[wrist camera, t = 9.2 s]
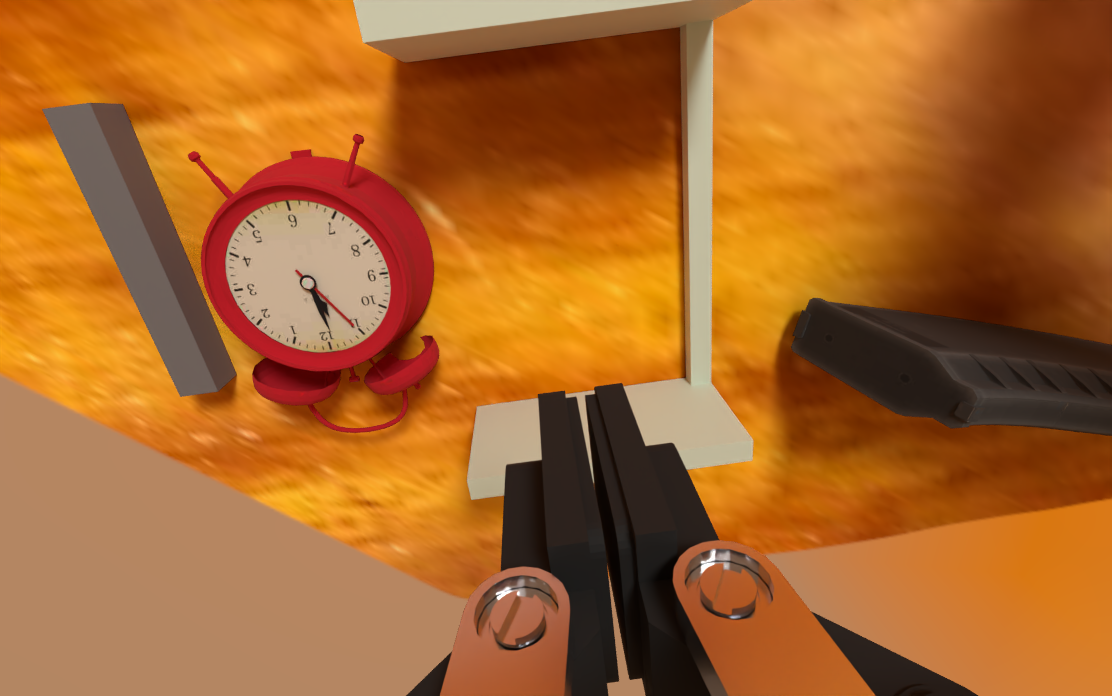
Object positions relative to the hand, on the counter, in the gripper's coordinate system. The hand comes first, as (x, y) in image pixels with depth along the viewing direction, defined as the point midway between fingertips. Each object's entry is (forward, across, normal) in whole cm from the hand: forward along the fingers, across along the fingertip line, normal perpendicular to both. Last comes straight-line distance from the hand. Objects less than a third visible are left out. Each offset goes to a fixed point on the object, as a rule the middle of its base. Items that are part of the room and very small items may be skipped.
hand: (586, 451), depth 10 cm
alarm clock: (+19, +11, +1) cm, 22 cm away
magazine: (+19, -28, +11) cm, 36 cm away
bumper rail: (+19, +19, -2) cm, 27 cm away
